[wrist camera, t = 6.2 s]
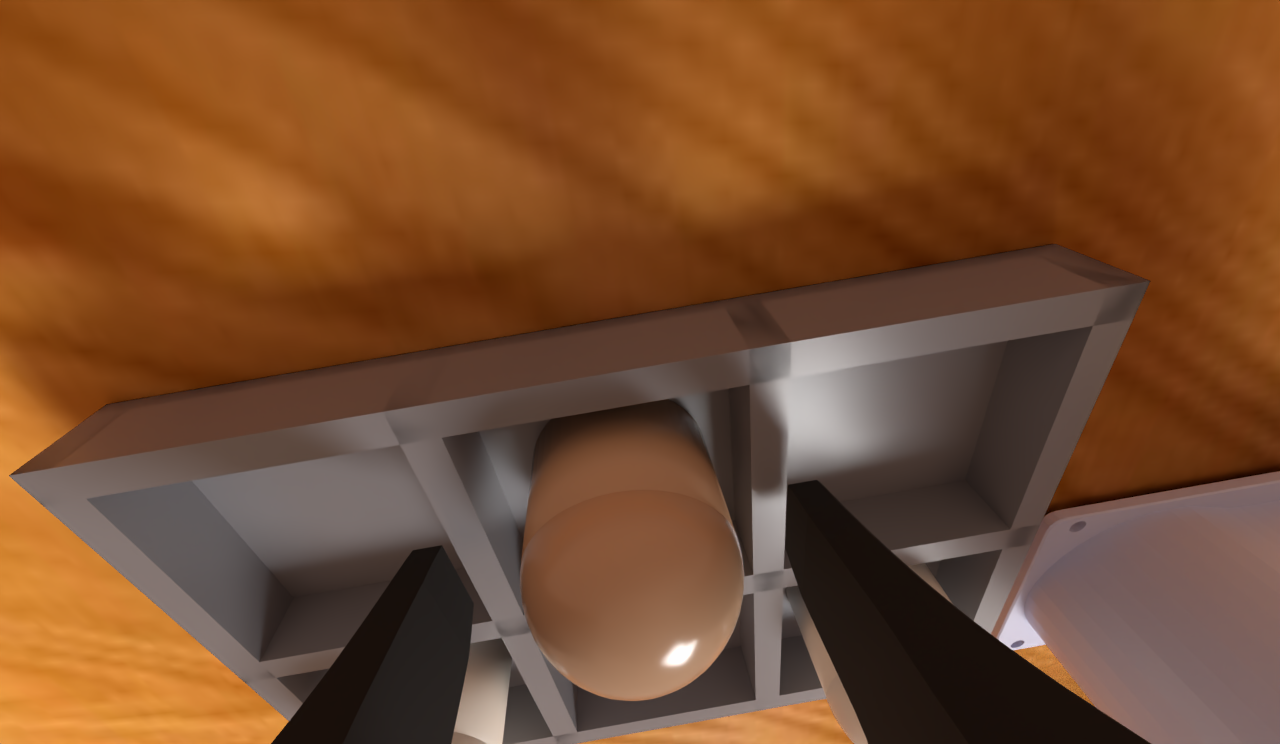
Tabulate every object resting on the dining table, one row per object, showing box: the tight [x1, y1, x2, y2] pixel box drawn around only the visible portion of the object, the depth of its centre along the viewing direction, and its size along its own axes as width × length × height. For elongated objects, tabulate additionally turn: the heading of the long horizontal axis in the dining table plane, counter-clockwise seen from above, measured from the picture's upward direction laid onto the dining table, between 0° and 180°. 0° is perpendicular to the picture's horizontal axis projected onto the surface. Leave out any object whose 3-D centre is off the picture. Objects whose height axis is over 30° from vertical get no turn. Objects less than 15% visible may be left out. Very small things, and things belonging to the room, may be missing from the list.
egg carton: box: [9, 244, 1150, 744], centre depth 12 cm, size 21×14×6 cm
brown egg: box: [520, 399, 744, 701], centre depth 10 cm, size 4×4×5 cm
